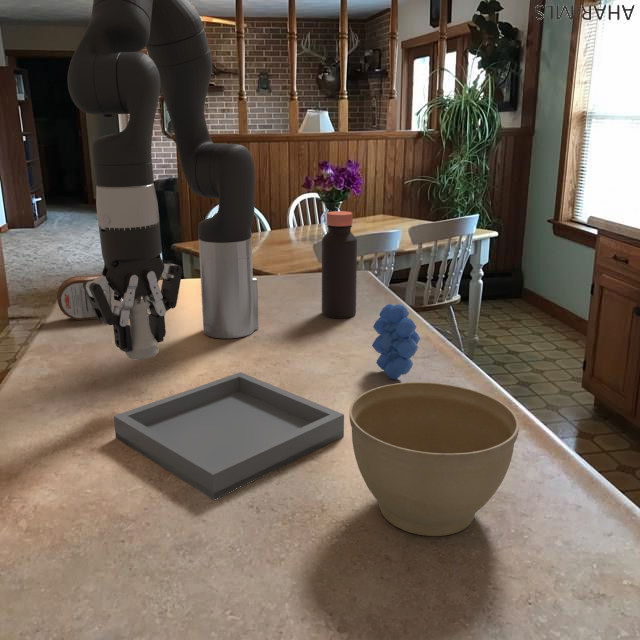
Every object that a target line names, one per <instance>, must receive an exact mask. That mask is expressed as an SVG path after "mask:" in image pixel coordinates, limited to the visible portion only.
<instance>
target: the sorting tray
mask: <svg viewBox="0 0 640 640" xmlns="http://www.w3.org/2000/svg"><path fill="white" fill-rule="evenodd" d="M113 422H114V435H115V439H116V440H118V441H120V442H122V443H123V444H125V445H127V446H128V447H130V448H131V449H133V450H134V451H136V452H137V453H139V454H141V455H142V456H144V457H146V458H147V459H148V460H150V461H152V462H153V463H154V464H156V465H158V466H159V467H161V468H163V469H164V470H166V471H167V472H169V473H170V474H172V475H174V476H175V477H177V478H178V479H180V480H182V481H183V482H185V483H186V484H188V485H189V486H191V487H193V488H194V489H196V490H198V492H200V493H202V492H203V493H202V494H204V495H205V494H206V496H207V497H208V496H209V498H210V497H211V498H210V499H211V500H213V499H214V500H213V501H216V500H218V499H220V498H222V497H224V496H226V495H228V494H230V493H232V492H234V491H236V490H237V489H236V488H238V489H240V488H241V487H240V486H242V487H244V486H246V485H248V484H250V483H249V482H251V481H253V480H255V479H257V478H259V477H261V478H262V476H263V475H265V476H266V474H267V475H268V473H269V474H271V473H272V472H275V471H276V470H279V469H281V468H283V467H285V466H288V465H289V464H291V463H293V462H295V461H297V460H299V459H301V458H303V457H305V456H307V455H310V454H312V453H313V452H315V451H317V450H319V449H322V448H323V447H325V446H328V445H330V444H331V443H334V442H336V441H338V440H340V439H342V438H344V437H345V434H344V433H345V414H344V413H342V412H339V411H336V410H334V409H331V408H329V407H327V406H324V405H322V404H319V403H317V402H314V401H312V400H309V399H307V398H305V397H303V396H300V395H297V394H295V393H292V392H290V391H288V390H285V389H283V388H280V387H278V386H276V385H273V384H270V383H268V382H265V381H263V380H261V379H258V378H257V377H254V376H251V375H249V374H246V373H243V372H242V371H240V372H238V373H234V374H231V375H228V376H226V377H222V378H220V379H216V380H214V381H211V382H208V383H205V384H202V385H200V386H197V387H194V388H190V389H187V390H185V391H182V392H178V393H177V394H174V395H173V394H172V395H171V396H166V397H164V398H161V399H158V400H156V401H153V402H152V401H151V402H150V403H148V404H143V405H141V406H139V407H135V408H132V409H129V410H126V411H124V412H121V413H118V414H115V415H113ZM270 472H271V473H270ZM263 477H264V476H263ZM259 479H260V478H259ZM257 480H258V479H257ZM255 481H256V480H255ZM253 482H254V481H253ZM247 483H248V484H247ZM251 483H252V482H251ZM245 484H246V485H245ZM243 485H244V486H243ZM239 487H240V488H239ZM235 489H236V490H235ZM233 490H234V491H233ZM231 491H232V492H231ZM229 492H230V493H229ZM227 493H228V494H227ZM225 494H226V495H225ZM223 495H224V496H223ZM221 496H222V497H221ZM219 497H220V498H219ZM217 498H218V499H217ZM215 499H216V500H215Z"/></svg>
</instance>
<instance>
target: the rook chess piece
mask: <svg viewBox="0 0 640 640" xmlns="http://www.w3.org/2000/svg"><path fill="white" fill-rule="evenodd" d="M149 306H150V303H149V302H148V301H147V298H146V296H143V298H142V296H140V297H138V299H134V302H133V307H132V309H131V310H130V313H129V319H128V320H129V323H130V324H129V325H130V332H131V341H132V351H130V352H127V353H126V352H124V353H125V355H126V356H127V357H128V358H129V359H131V360H141V361H142V360H148V359H151V358H154V357H156V356H157V354H158V352H159V351H160V349H159V347H157V346H159V343H158V342H157V340H156V339H155V338H154V335H153V334H152V333H151V329H150V325H149V318H148V317H149V314H150V313H149V311H148V307H149Z"/></svg>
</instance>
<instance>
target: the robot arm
mask: <svg viewBox="0 0 640 640" xmlns="http://www.w3.org/2000/svg"><path fill="white" fill-rule="evenodd" d="M90 18H91V19H90V20H89V23H88V25H87V27H86V29H85V30H84V33H83V34H82V35H83V36H82V37H81V39H80V41H79V43H78V45H77V46H76V49H75V51H74V53H73V54H72V57H71V60H70V63H69V66H68V71H67V90H68V92H69V93H68V94H69V96H70V98H71V100H72V102H73V103H74V105H75V106H76V107H77V109H79V110H80V111H81V112H84V113H85V114H90V115H129V120H128V122H127V125H126V127H125V128H124V129H123V130H121V131H118V132H116V133H111V134H106V135H102V136H99V137H97V138H96V139H95V140H94V141H93V143H92V147H91V151H92V162H93V169H94V177H95V188H96V194H95V196H96V197H95V199H96V200H95V201H96V202H95V203H96V205H95V206H96V216H97V223H98V230H99V231H98V233H99V241H100V248H101V257H102V260H103V262H104V263H103V269H102V272H101V275H102V276H100V277H98V278H97V279H95V280H93V281H85V282H84V283H83V288H84V290H85V293H86V295H87V297H88V299H89V301H90V304H91V306H92V308H93V310H94V312H95V315H96V317H97V321H99V322H101V323H104V324H106V325H109V326H112V327H113V335H114V344H115V346H116V347H117V348H119V350H120V351H122V352H124V353H125V352H126V353H127V352H130V351H132V341H131V332H130V324H128V323H129V320H130V319H129V313H130V310H131V309H132V307H133V302H134V299H136V298H138V297H140V296H141V299H143V296H146V298H147V301H148V302H149V303H150V306H149V307H148V309H147V311H148V314H149V317H148V319H149V325H150V329H151V333H152V334H153V335H154V338H155V339H156V340H157V342H158V344H160V343H163V342H164V338H165V337H166V335H167V331H166V321H165V319H166V318H165V315H166V314H167V312H168V311H169V310H170V309H171V310H172V309H175V308H176V306H177V303H178V299H179V298H178V297H179V292H180V287H181V279H182V275H183V267H182V265H178V264H175V263H170V262H167V263H164V261H163V259H162V257H161V255H162V252H163V250H162V247H163V246H162V237H161V228H160V227H161V226H160V213H159V204H158V198H157V193H156V187H155V183H154V182H155V180H154V169H153V168H154V167H153V158H152V143H153V142H152V141H153V131H154V124H155V119H156V113H157V109H158V108H157V107H158V104H159V99H160V98H159V97H160V93H162V96H163V101H164V102H165V107H166V109H167V112H168V116H169V119H170V123H171V126H172V127H171V128H172V130H173V135H174V138H175V139H174V140H175V144H176V147H177V151H178V157H179V160H180V161H179V162H180V164H181V169H182V173H183V176H184V179H185V181H186V183H187V185H188V188H189V189H190V190H191V191H192V192H193V193H194V194H195V195H196V196H199V197H202V198H207V199H218V208H217V213H215V214H214V215H213V216H211V217H209V218H206V219H203V220H201V221H200V222H199V223H198V226H197V234H198V235H197V237H198V251H199V252H198V255H199V256H198V257H199V269H200V270H199V271H200V272H199V273H200V274H199V275H200V287H201V305H202V325H203V327H202V328H203V329H202V331H203V334H204V335H206V336H208V337H210V338H213V339H214V338H216V339H237V338H242V337H246V336H249V335H251V334H252V333H254V331H255V330H258V329H259V328H260V327H259V300H258V299H259V297H258V279H257V278H256V277H255V276H253V271H254V270H253V248H252V247H253V243H252V227H253V224H254V219H255V195H256V193H255V192H256V189H255V188H256V172H255V171H256V169H255V164H254V159H253V156H252V153H251V152H250V150H249V149H248V148H247V147H246V146H245V145H242V144H239V143H238V144H237V143H221V142H220V143H219V142H218V143H214V142H213V140H212V138H211V136H210V132H209V129H208V125H207V121H206V117H205V116H206V115H205V105H206V98H207V95H208V91H209V88H210V87H209V86H210V82H211V77H212V74H213V73H212V72H213V57H212V52H211V48H210V45H209V40H208V38H207V35H206V31H205V27H204V23H203V21H202V18H201V16H200V14H199V13H198V11H197V9H196V8H195V6H194V5H193V3H192V2H190V1H189V0H93V2H92V11H91V17H90ZM145 48H146V51H147V54H148V55H147V54H146V53H143V52H141V51H142V50H143V49H145ZM161 277H162V281H161V282H162V283H161V287H160V285H159V284H158V283H159V281H160V279H161ZM107 284H108V285H109V286H110V287H111V288H112V289H113V290H112V296H111V304H112V310H111V308H110V306H109V303H108V301H107V299H106V297H105V294H106V293H107V290H106V285H107ZM160 288H161V289H160ZM122 298H124V299H123V300H122ZM126 353H125V354H126Z"/></svg>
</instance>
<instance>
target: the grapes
mask: <svg viewBox="0 0 640 640" xmlns="http://www.w3.org/2000/svg"><path fill="white" fill-rule="evenodd" d="M409 315H410V313H409V311H408V309H407V307H406V306H405V305H403V304H401V303H398V304H395V305H394V304H393V303H388V304H385V306H384V307H383V308H382V309H381V311H380V312H379V318H378V319H376V320H375V323H374V324H373V327H372V328H373V329H374V331H375V332H376V333H377V334H378V336H377V337H376V338H375V339H374V341H373V343H372V345H371V347H372V348H373V350H375V351H376V352H377V354H380V355H379V356H378V358H377V359H376V361H375V363H376V364H377V366H378V367H379V368H380V369H381V370H382V371H383V372H384V373H385V375H387V377H388V378H390V379H391V380H397V379H399V378H400V377H401V376H403V375H407V374H408V373H409V372H410V371H411V369H412V367H413V364H414V363H413V361H412V359H411V358H412V357H414V356H415V354H416V353H417V351H418V349H419V346H418V344H419V342H420V340H421V337H420V335H419V333H418V332H417V331H416V328H417V325H416V324H415V322H414V321H413V320H412V318H409Z"/></svg>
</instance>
